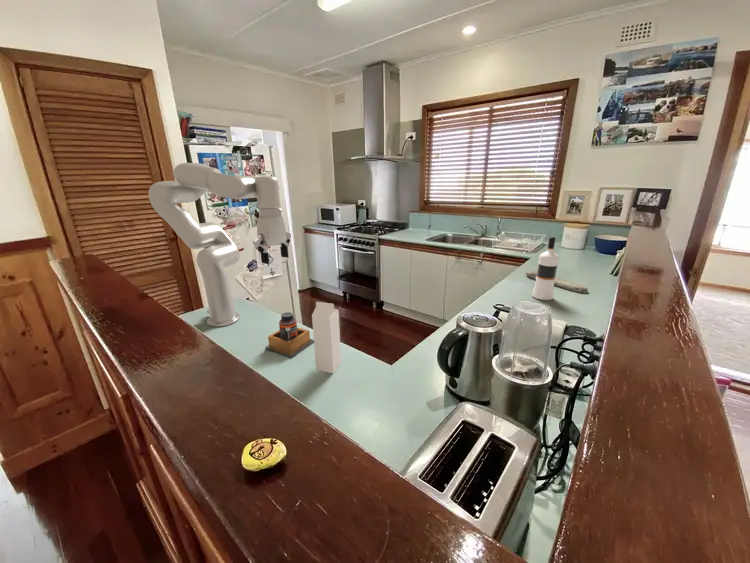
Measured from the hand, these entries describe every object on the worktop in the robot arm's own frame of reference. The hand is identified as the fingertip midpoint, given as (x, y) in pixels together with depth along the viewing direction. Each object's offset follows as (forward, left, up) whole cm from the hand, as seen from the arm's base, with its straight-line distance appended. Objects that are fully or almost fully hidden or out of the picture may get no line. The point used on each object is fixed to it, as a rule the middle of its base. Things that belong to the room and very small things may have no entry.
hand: (275, 260), depth 115 cm
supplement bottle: (+12, -9, -28) cm, 31 cm away
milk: (+32, -13, -28) cm, 45 cm away
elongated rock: (+95, +111, -29) cm, 149 cm away
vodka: (+90, +84, -28) cm, 126 cm away
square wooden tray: (+12, -9, -28) cm, 32 cm away
